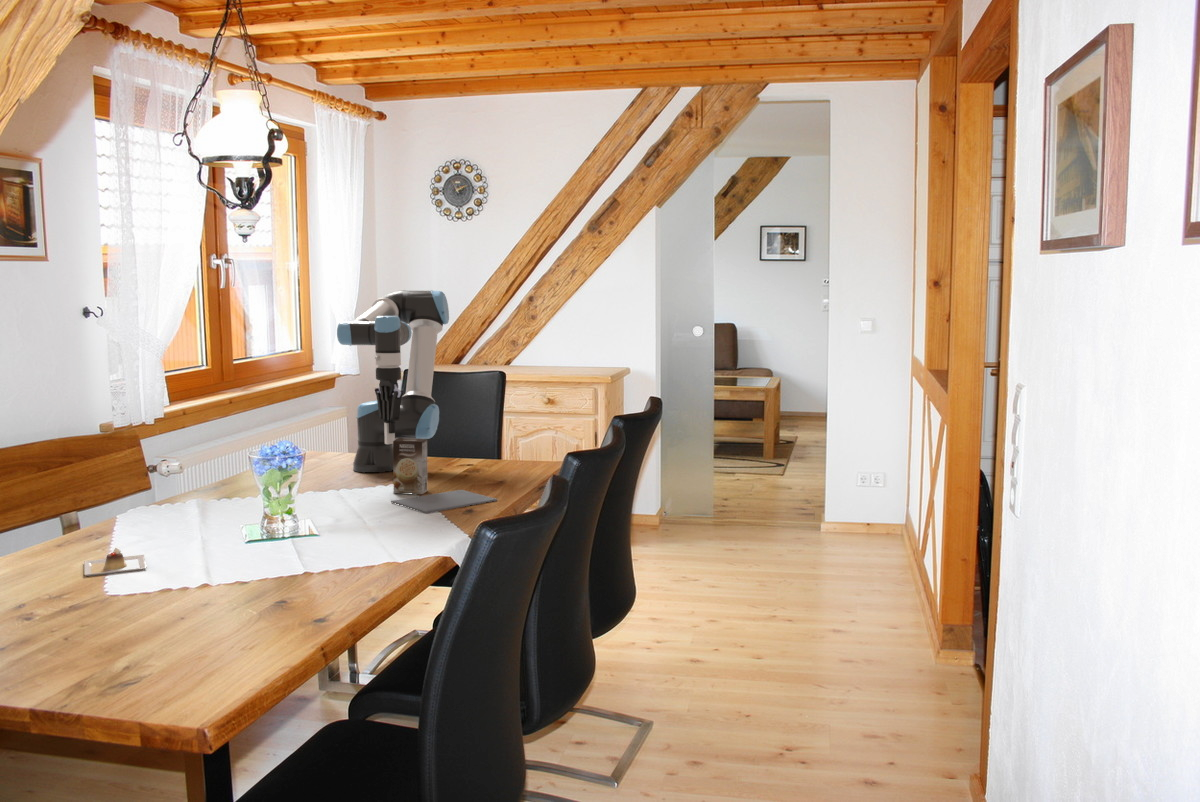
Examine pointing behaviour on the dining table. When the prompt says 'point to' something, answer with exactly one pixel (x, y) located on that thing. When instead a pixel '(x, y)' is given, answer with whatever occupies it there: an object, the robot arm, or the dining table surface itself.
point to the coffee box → (410, 465)
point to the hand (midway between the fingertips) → (389, 443)
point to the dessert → (114, 563)
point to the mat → (444, 501)
